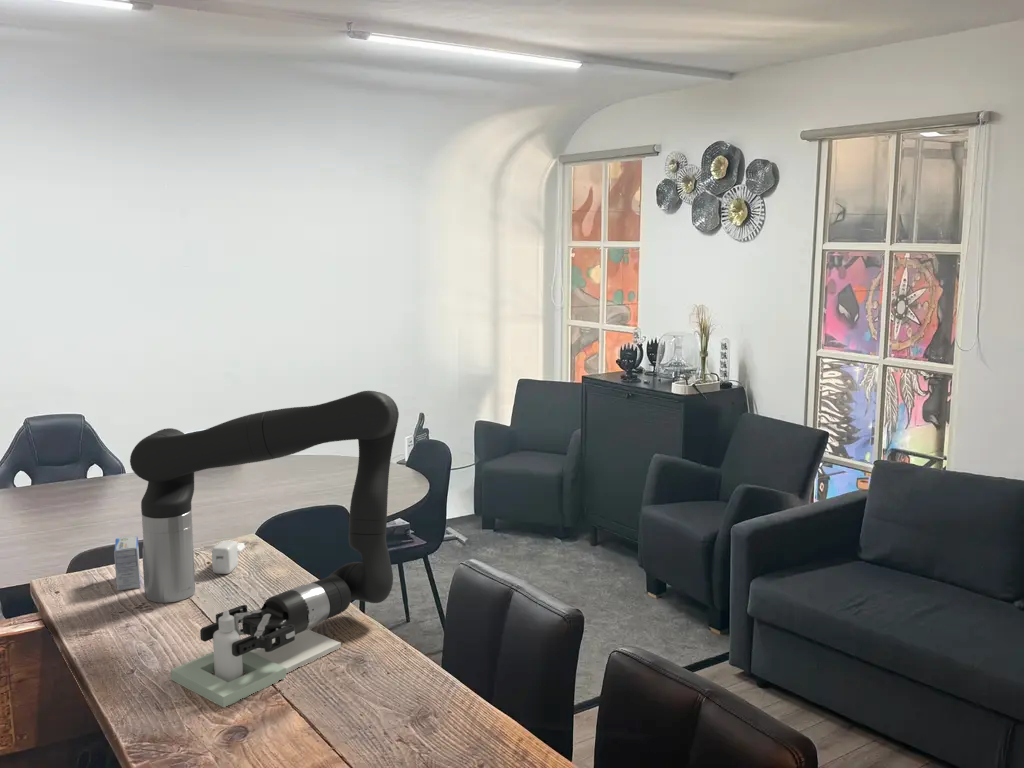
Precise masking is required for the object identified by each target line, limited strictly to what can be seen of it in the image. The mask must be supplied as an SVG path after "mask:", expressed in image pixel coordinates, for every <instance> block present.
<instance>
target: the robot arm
mask: <svg viewBox="0 0 1024 768" xmlns="http://www.w3.org/2000/svg"><path fill="white" fill-rule="evenodd" d="M398 408H399V407H398V406H397V403H396V402H395V400H394V399H393V398H392V397H391V396H389V395H388V394H386V393H383V392H380V391H377V390H375V391H374V390H362V391H359V392H356V393H354V394H349V395H346V396H344V397H340V398H338V399H337V398H336V399H335V400H330V401H328V402H324V403H320V404H316V405H314V404H313V405H308V406H295V407H286V408H279V409H271V410H265V411H260V412H256V413H250V414H247V415H246V414H245V415H243V416H239V417H237V418H236V417H235V418H233V419H230V420H228V421H225V422H221V423H219V424H216V425H213V426H212V427H208V428H206V429H204V430H201V431H196V432H193V433H192V432H191V433H187V434H185V433H184V432H183V431H181V430H179V429H176V428H173V427H172V428H169V427H168V428H162V429H159V430H157V431H155V432H153V433H151V434H149V435H148V436H145V437H144V438H142V439H141V440H140V441H139V442H137V444H135V446H134V448H133V449H132V451H131V453H130V458H129V464H130V467H131V468H130V469H131V470H132V471H133V473H134V474H135V475H136V476H137V477H139V478H140V479H141V480H144V481H147V487H146V490H145V493H144V494H143V496H142V498H141V502H140V508H141V522H142V523H141V524H142V525H141V526H142V542H143V543H142V544H143V546H142V548H141V553H142V554H141V555H142V556H141V557H142V573H143V574H142V575H143V588H144V591H143V592H144V593H145V595H146V598H147V600H149V601H150V602H154V603H161V604H162V603H164V604H165V603H166V604H167V603H174V602H180V601H184V600H185V599H189V598H190V597H193V595H195V593H196V578H195V577H196V575H195V573H196V571H195V556H194V554H195V553H194V552H195V551H194V550H195V549H194V534H193V533H194V531H193V514H192V513H193V512H192V510H193V509H192V501H193V496H194V492H195V473H197V472H200V471H203V470H210V469H215V468H216V469H217V468H224V467H231V466H239V465H245V464H252V463H258V462H259V463H261V462H264V461H269V460H275V459H280V458H283V457H287V456H290V455H291V456H292V455H294V454H297V453H300V452H302V451H306V450H308V449H310V448H312V447H315V446H318V445H321V444H327V443H333V442H334V443H335V442H341V441H354V440H358V441H357V442H358V463H357V471H356V478H355V481H354V485H353V486H354V487H353V490H352V494H351V499H350V507H349V517H348V518H349V522H348V544H349V547H350V548H351V549H353V550H354V551H356V552H357V553H359V555H360V557H361V561H362V562H361V561H353V562H348V563H345V564H343V565H342V566H340V567H338V568H337V569H335V570H334V571H333V572H331V573H329V575H328V576H327V577H323V578H321V579H318V580H316V581H313V582H310V583H308V584H306V583H305V584H302V585H299V586H296V587H294V588H290V589H289V590H286V591H282V592H280V593H278V594H274V595H273V596H270V597H267V599H266V600H265V601H264V604H263V605H262V606H261V607H260V609H253V610H251V611H250V610H248V605H247V604H243V605H242V604H241V605H239V606H235V607H234V608H230V609H228V611H229V615H232V616H233V617H234V627H235V629H234V630H235V631H237V633H238V634H239V636H244V635H248V636H246V637H243V638H241V640H239V641H236V642H234V643H233V644H232V655H234V656H236V657H237V656H240V655H242V654H245V653H247V652H249V651H252V650H254V649H255V650H261V649H262V648H264V649H265V652H271V651H273V650H275V649H277V648H279V647H281V646H283V645H286V644H288V643H290V642H292V641H294V640H295V635H296V634H298V633H300V632H303V631H305V630H307V629H308V630H310V629H312V628H314V627H316V626H318V625H319V624H320V623H322V622H324V621H327V620H329V619H331V618H333V617H336V616H338V615H339V614H342V613H343V612H345V611H346V610H347V609H348V607H350V604H351V601H355V600H356V601H359V602H364V603H365V602H366V603H370V604H380V603H382V602H385V600H386V599H387V598H388V597H389V596H390V593H391V591H392V588H393V584H394V573H393V568H392V562H391V558H390V557H391V556H390V553H389V551H390V550H389V548H388V544H387V525H388V524H387V523H388V522H387V521H388V494H389V490H388V489H389V478H390V477H389V476H390V469H391V468H390V466H391V460H392V453H393V448H394V447H393V446H394V441H395V436H396V432H397V428H398V423H399V418H400V417H399V409H398ZM221 616H223V611H222V612H219V613H217V614H215V622H214V623H210V624H209V625H208V624H207V626H203V627H201V628H200V629H199V634H200V637H199V638H200V640H201V641H203V642H205V643H206V642H208V641H210V640H213V634H214V633H215V631H217V630H219V621H218V619H219V618H220V617H221ZM239 623H240V624H242V625H241V626H242V628H240V626H239ZM274 638H275V642H274V643H273V644H272V639H274Z"/></svg>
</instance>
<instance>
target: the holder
mask: <svg viewBox="0 0 1024 768" xmlns="http://www.w3.org/2000/svg"><path fill="white" fill-rule="evenodd" d="M242 664H243V676H241V677H239V678H237V679H235V680H233V681H230V682H226V681H224V680H222V679H220V678H218V677H216V676H215V672H214V651H212V652H210V653H206V654H205V655H202V656H200V657H198V658H196V659H193V660H190V661H189V662H186V663H184V664H181V665H178V666H176V667H174V668H171V669H170V680H171V681H173V682H175V683H176V684H179V685H180V686H181V687H184V688H186V689H187V690H190V691H192V692H193V693H195V694H198V695H199V696H201V697H202V698H205V699H207V700H209V702H210V701H211V702H212V703H214V704H216V705H217V706H219V707H222V708H226V706H227V707H228V705H229V706H231V705H233V704H236V703H237V702H240V701H241V700H243V699H245V698H248V697H249V695H250V696H252V695H253V693H254V694H256V693H258V692H260V691H263V690H264V689H266V688H268V687H271V686H273V685H274V683H275V684H277V683H278V682H277V681H279V680H281V679H283V680H285V679H287V674H286V668H285V667H283V666H281V665H278V664H276V663H274V662H272V661H270V660H267V659H265V658H263V657H261V656H259V655H256V654H254V653H252V652H250V651H249V652H247V653H245V654H242ZM213 673H214V674H213ZM245 673H246V674H245ZM284 678H285V679H284ZM281 681H282V680H281ZM276 682H277V683H276ZM279 682H280V681H279ZM272 684H273V685H272ZM265 687H266V688H265ZM263 688H264V689H263ZM257 691H258V692H257ZM255 692H256V693H255ZM251 694H252V695H251ZM242 698H243V699H242ZM240 699H241V700H240Z"/></svg>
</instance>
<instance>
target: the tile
mask: <svg viewBox="0 0 1024 768" xmlns="http://www.w3.org/2000/svg"><path fill="white" fill-rule="evenodd" d="M274 642H275V638H274V639H272V644H273V643H274ZM339 648H340V649H342V642H340V641H337V640H335V639H332V638H331V637H328V636H326V635H323V634H321V633H318V632H315V631H313V630H311V629H307V630H305V631H303V632H300V633H298V634H296V635H295V640H294V641H292V642H290V643H288V644H286V645H283V646H281V647H279V648H277V649H275V650H273V651H271V652H265V649H264V648H262V649H261V650H255V649H254V650H252V651H250V652H252V653H254V654H256V655H259V656H261V657H263V658H265V659H267V660H270V661H272V662H274V663H276V664H278V665H281V666H283V667H285V668H286V673H288V672H290V671H292V670H294V669H296V668H298V667H300V666H302V665H304V664H306V663H309V662H311V661H313V660H315V659H317V658H319V657H321V656H323V655H325V654H328V653H329V652H332V651H334V650H336V649H338V650H340V649H339ZM336 651H337V650H336ZM334 652H335V651H334ZM332 653H333V652H332ZM328 655H329V654H328ZM321 658H322V657H321ZM319 659H320V658H319ZM317 660H318V659H317ZM315 661H316V660H315ZM313 662H314V661H313ZM311 663H312V662H311ZM309 664H310V663H309ZM300 668H301V667H300ZM298 669H299V668H298ZM296 670H297V669H296ZM294 671H295V670H294ZM292 672H293V671H292ZM290 673H291V672H290ZM288 674H289V673H288Z"/></svg>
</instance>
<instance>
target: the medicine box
mask: <svg viewBox="0 0 1024 768" xmlns="http://www.w3.org/2000/svg"><path fill="white" fill-rule="evenodd" d="M114 543H115V544H114V552H113V553H114V554H113V555H114V558H113V559H114V568H115V570H114V571H115V580H116V590H117V591H126V590H133V589H140V588H141V567H140V566H141V565H140V564H141V563H140V551H139V538H138V536H137V535H134V536H124V537H117V538H115V542H114Z"/></svg>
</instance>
